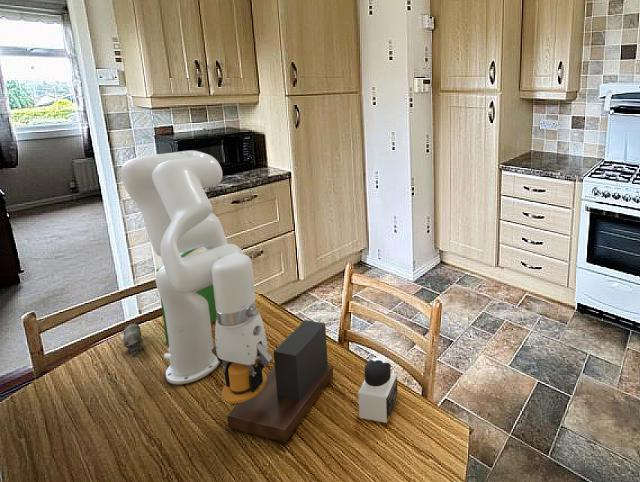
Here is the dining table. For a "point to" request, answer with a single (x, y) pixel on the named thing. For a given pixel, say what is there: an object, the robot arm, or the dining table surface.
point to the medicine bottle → (378, 391)
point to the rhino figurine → (132, 339)
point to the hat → (240, 384)
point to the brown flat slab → (275, 409)
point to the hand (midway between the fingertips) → (244, 383)
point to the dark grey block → (300, 360)
